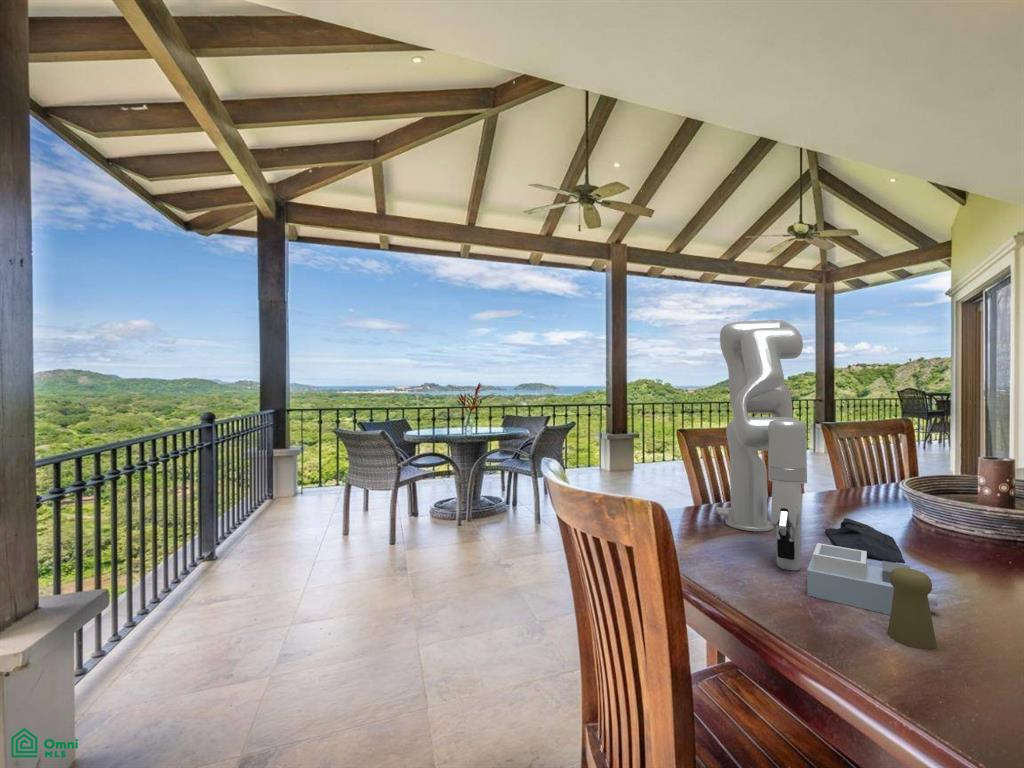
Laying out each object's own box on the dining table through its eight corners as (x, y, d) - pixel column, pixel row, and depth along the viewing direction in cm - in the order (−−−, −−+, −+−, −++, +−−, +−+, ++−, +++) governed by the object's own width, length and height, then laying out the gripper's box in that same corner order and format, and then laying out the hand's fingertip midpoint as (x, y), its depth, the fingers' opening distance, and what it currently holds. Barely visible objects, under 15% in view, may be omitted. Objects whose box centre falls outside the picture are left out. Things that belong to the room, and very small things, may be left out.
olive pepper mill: (877, 630, 77) (876, 564, 77) (911, 628, 77) (909, 562, 78) (912, 650, 71) (910, 579, 71) (948, 648, 71) (946, 577, 71)
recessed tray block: (807, 595, 90) (806, 554, 90) (813, 578, 98) (812, 541, 98) (940, 626, 78) (939, 578, 78) (934, 604, 86) (933, 561, 86)
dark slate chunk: (828, 555, 112) (827, 535, 112) (824, 531, 131) (824, 514, 131) (909, 567, 104) (909, 546, 104) (894, 540, 123) (893, 522, 123)
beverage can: (798, 564, 105) (797, 512, 105) (804, 572, 101) (803, 518, 101) (774, 562, 107) (773, 510, 107) (779, 570, 102) (778, 516, 102)
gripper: (775, 467, 113) (776, 539, 113) (761, 478, 100) (762, 561, 99) (811, 470, 108) (812, 546, 108) (801, 482, 95) (803, 569, 95)
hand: (788, 552), depth 104 cm, fingers open, 7 cm apart
